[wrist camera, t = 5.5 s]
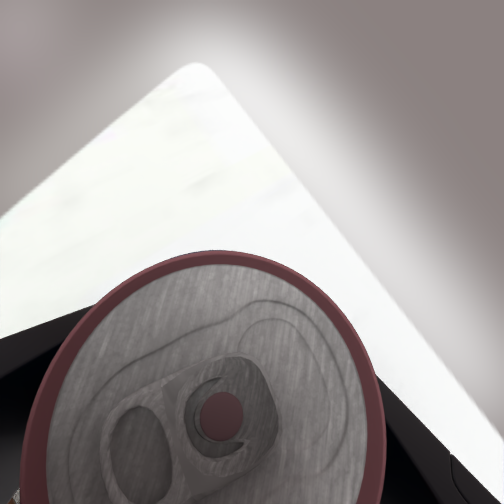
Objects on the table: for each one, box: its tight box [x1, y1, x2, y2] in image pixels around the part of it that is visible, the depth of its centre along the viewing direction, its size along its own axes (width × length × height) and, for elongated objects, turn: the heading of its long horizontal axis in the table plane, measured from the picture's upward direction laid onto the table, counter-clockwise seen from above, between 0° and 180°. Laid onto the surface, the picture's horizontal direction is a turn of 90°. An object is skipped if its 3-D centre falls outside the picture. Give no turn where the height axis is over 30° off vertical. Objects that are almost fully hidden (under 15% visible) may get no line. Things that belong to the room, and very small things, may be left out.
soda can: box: [19, 250, 386, 504], centre depth 10 cm, size 7×7×12 cm
